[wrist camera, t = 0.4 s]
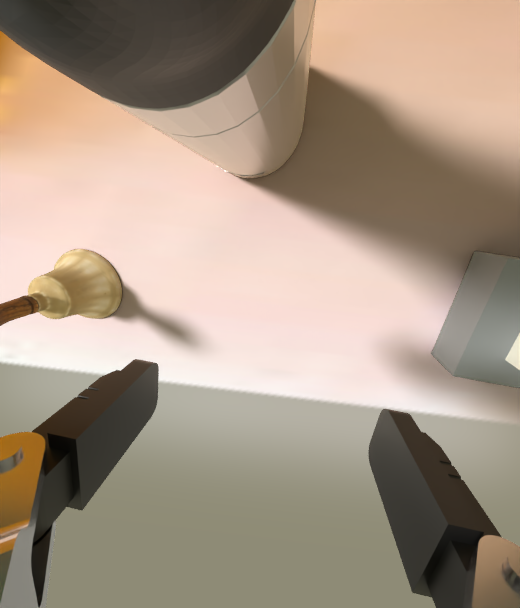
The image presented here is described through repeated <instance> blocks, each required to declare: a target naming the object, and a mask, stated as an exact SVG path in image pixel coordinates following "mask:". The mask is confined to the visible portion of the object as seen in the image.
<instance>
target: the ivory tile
mask: <svg viewBox="0 0 520 608" xmlns="http://www.w3.org/2000/svg"><path fill="white" fill-rule="evenodd" d="M505 360H506V361H507V362H509V363H510V364H512V365H513V366H514V367H516V368H517V369H519V370H520V333H519V335H518V337H517V339H516V340H515V342H514V344H513V346H512V348H511V350H510V352H509V353H508V355H507V357H506V359H505Z"/></svg>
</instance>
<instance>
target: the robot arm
mask: <svg viewBox="0 0 520 608" xmlns="http://www.w3.org/2000/svg"><path fill="white" fill-rule="evenodd" d="M315 5H316V0H0V31H2V32H3V33H4V34H6V35H7V36H8V37H9V38H11V39H12V40H13V41H14V42H16V43H17V44H18V45H20V46H21V47H22V48H24V49H25V50H27V51H28V52H30V53H31V54H33V55H34V56H36V57H37V58H39V59H40V60H42V61H43V62H45V63H46V64H48V65H49V66H51V67H53V68H54V69H56V70H58V71H59V72H61V73H63V74H64V75H66V76H68V77H69V78H71V79H73V80H74V81H76V82H78V83H79V84H81V85H83V86H84V87H86V88H88V89H89V90H91V91H93V92H95V93H97V94H98V95H100V96H101V97H103V98H105V99H106V100H108V101H110V102H111V103H113V104H115V105H116V106H118V107H120V108H121V109H123V110H125V111H126V112H128V113H130V114H131V115H133V116H135V117H136V118H138V119H140V120H141V121H143V122H145V123H146V124H148V125H150V126H152V127H153V128H155V129H157V130H158V131H160V132H162V133H163V134H165V135H167V136H168V137H170V138H172V139H173V140H175V141H177V142H178V143H180V144H182V145H183V146H185V147H187V148H188V149H190V150H192V151H193V152H195V153H197V154H198V155H200V156H202V157H203V158H205V159H207V160H208V161H210V162H212V163H213V164H215V165H216V166H217V167H219V168H220V169H222V170H224V171H226V172H228V173H231V174H233V175H235V176H239V177H242V178H258V177H262V176H266V175H268V174H270V173H272V172H274V171H276V170H277V169H278V168H280V167H281V166H282V165H284V163H285V162H286V161H287V160H288V159H289V158H290V156H291V155H292V154H293V152H294V150H295V148H296V147H297V145H298V142H299V139H300V136H301V133H302V129H303V122H304V114H305V106H306V97H307V86H308V76H309V66H310V56H311V45H312V35H313V25H314V15H315ZM157 399H158V364H157V363H153V362H148V361H143V360H138V359H135V360H133V361H132V362H131V363H130V364H128V365H127V366H126V367H125V368H124V369H122V370H121V371H119V370H116V371H114V372H111V373H109V374H107V375H105V376H102V377H100V378H99V379H98V380H97V381H95V382H94V383H93V384H92V385H90V386H89V388H88V389H85V390H84V391H83V392H81V393H80V394H79V395H78V397H77V398H74V399H73V400H71V401H70V402H69V403H67V404H66V405H65V406H64V407H62V408H61V409H60V410H59V411H57V412H56V413H55V414H53V415H52V416H51V417H50V418H48V419H47V420H46V421H45V422H43V423H42V424H41V425H40V426H38V427H37V428H36V429H34V430H33V431H32V432H19V433H13V434H9V435H6V436H3V437H0V608H46V601H47V593H48V585H49V578H50V570H51V561H52V553H53V546H54V538H55V530H56V519H57V518H58V516H59V515H60V514H61V512H62V511H63V510H64V509H65V507H70V508H74V509H78V510H83V509H84V507H85V506H86V505H87V503H88V502H89V500H90V499H91V498H92V496H93V495H94V493H95V492H96V491H97V489H98V488H99V487H100V486H101V484H102V483H103V482H104V480H105V479H106V478H107V476H108V475H109V473H110V472H111V471H112V469H113V468H114V467H115V465H116V464H117V463H118V461H119V460H120V459H121V457H122V456H123V455H124V453H125V452H126V450H127V449H128V448H129V446H130V445H131V444H132V442H133V441H134V440H135V438H136V437H137V436H138V434H139V433H140V431H141V430H142V429H143V427H144V426H145V425H146V423H147V422H148V420H149V419H150V418H151V416H152V415H153V413H154V410H155V408H156V405H157ZM369 461H370V466H371V469H372V472H373V475H374V478H375V481H376V484H377V487H378V490H379V493H380V496H381V499H382V502H383V505H384V508H385V511H386V514H387V517H388V520H389V523H390V526H391V529H392V532H393V535H394V538H395V541H396V544H397V547H398V550H399V553H400V556H401V559H402V562H403V566H404V569H405V572H406V574H407V578H408V580H409V583H410V586H411V590H412V592H413V593H416V594H420V595H424V596H429V597H432V598H433V601H434V603H435V606H436V608H520V547H519V546H518V545H516V544H514V543H513V542H511V541H509V540H506V539H504V538H502V537H501V535H500V534H499V532H498V531H497V529H496V528H495V526H494V525H493V523H492V522H491V521H490V519H489V518H488V516H487V515H486V513H485V512H484V510H483V509H482V507H481V506H480V504H479V503H478V501H477V500H476V498H475V497H474V496H473V494H472V492H471V491H470V490H469V488H468V487H467V485H466V484H465V482H464V481H463V480H461V476H460V475H459V473H458V472H457V470H456V469H455V467H454V466H452V465H451V462H450V460H449V459H448V457H447V456H446V454H445V453H444V451H443V450H442V448H441V447H440V446H439V445H438V444H437V443H436V442H435V441H433V440H432V439H431V438H430V437H429V436H428V435H427V434H426V433H423V432H421V431H420V429H419V428H418V426H417V425H416V423H415V421H414V420H413V419H412V417H411V415H410V414H408V413H404V412H399V411H394V410H389V409H383V410H382V411H381V413H380V416H379V418H378V422H377V424H376V427H375V430H374V433H373V436H372V439H371V442H370V445H369Z"/></svg>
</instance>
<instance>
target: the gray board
mask: <svg viewBox="0 0 520 608" xmlns="http://www.w3.org/2000/svg"><path fill="white" fill-rule="evenodd" d="M519 333H520V257H513V256H506V255H500V254H493V253H486V252H479V251H474V254H473V256H472V258H471V261H470V263H469V265H468V268H467V270H466V273H465V275H464V277H463V280H462V282H461V284H460V287H459V289H458V291H457V294H456V296H455V299H454V301H453V303H452V306H451V308H450V310H449V313H448V315H447V318H446V320H445V322H444V325H443V327H442V329H441V332H440V334H439V336H438V339H437V341H436V344H435V346H434V348H433V351H432V353H431V354H432V355H433V356H434V357H435V358H436V359H437V360H438V361H439V362H440V363H441V365H442V366H443V367H444V368H445V369H446V370H447V371H448V372H449V373H450V374H451V375H452V376H455V377H461V378H466V379H472V380H477V381H483V382H488V383H494V384H499V385H505V386H510V387H516V388H520V370H519V369H517V368H516V367H514V366H513V365H512V364H510V363H509V362H507V361H506V360H505V359H506V357H507V355H508V353H509V352H510V350H511V348H512V346H513V344H514V342H515V340H516V339H517V337H518V335H519Z"/></svg>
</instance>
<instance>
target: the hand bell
mask: <svg viewBox="0 0 520 608" xmlns="http://www.w3.org/2000/svg"><path fill="white" fill-rule="evenodd" d="M121 298H122V287H121V283H120V279H119V277H118V275H117V273H116V271H115V270H114V268H113V267H112V266H111V264H110V263H109V262H108V261H107V260H105V259H104V258H103V257H102V256H100V255H99V254H97V253H95V252H92V251H89V250H85V249H74V250H71V251H68V252H66V253H65V254H63V255H62V256H61V257H60V258H59V260H58V261H57V262H56V265H55V267H54V270H53V271H51V272H49V273H47V274H44V275H42V276H39V277H36V278H35V279H34V280H32V282H31V283H30V285H29V288H28V295H27V296H22V297H20V298H17V299H14V300H11V301H8V302H5V303H2V304H0V326H1V325H3V324H5V323H6V322H9V321H11V320H14V319H17V318H20V317H23V316H27V315H29V314H33V313H36V312H39V313H40V314H42V315H43V316H45V317H47V318H51V319H61V318H64V317H67V316H71V315H76V314H79V315H81V316H83V317H87V318H95V319H99V318H105V317H107V316H110V315H111V314H113V313H114V312H115V311H116V310H117V308H118V307H119V305H120V302H121Z"/></svg>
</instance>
